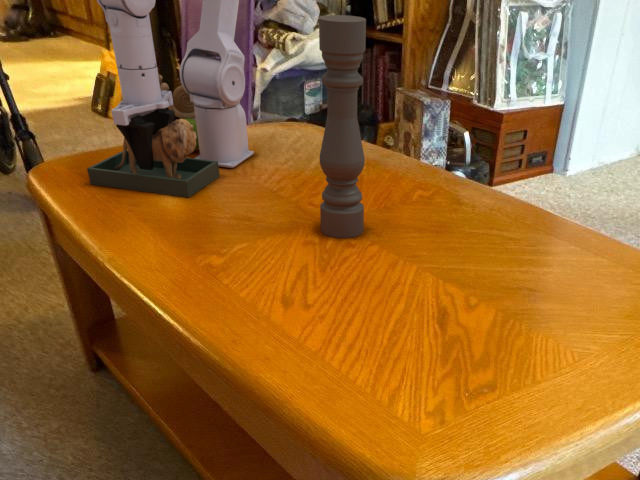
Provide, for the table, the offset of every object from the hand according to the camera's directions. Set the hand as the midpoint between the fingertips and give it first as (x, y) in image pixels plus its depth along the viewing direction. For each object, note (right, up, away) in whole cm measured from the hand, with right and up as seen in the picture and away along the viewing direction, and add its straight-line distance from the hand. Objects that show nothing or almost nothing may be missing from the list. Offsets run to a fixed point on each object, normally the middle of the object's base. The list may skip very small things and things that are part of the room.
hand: (153, 164), depth 109 cm
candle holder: (+31, -15, -12) cm, 36 cm away
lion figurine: (+1, -2, +1) cm, 2 cm away
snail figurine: (+2, +10, +15) cm, 17 cm away
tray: (0, -2, +2) cm, 2 cm away
